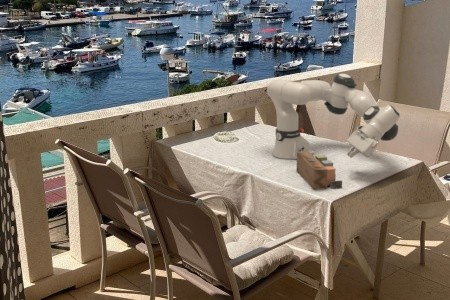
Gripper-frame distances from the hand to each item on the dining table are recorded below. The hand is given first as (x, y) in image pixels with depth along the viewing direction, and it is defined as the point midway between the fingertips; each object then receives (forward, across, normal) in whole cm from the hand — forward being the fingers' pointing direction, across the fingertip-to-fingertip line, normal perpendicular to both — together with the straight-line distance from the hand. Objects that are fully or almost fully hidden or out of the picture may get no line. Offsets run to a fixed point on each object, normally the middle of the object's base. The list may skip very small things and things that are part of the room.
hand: (348, 156), depth 267 cm
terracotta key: (+16, -8, +1) cm, 18 cm away
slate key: (+14, 0, 0) cm, 15 cm away
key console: (+18, 0, +3) cm, 18 cm away
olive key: (+14, +9, 0) cm, 17 cm away
